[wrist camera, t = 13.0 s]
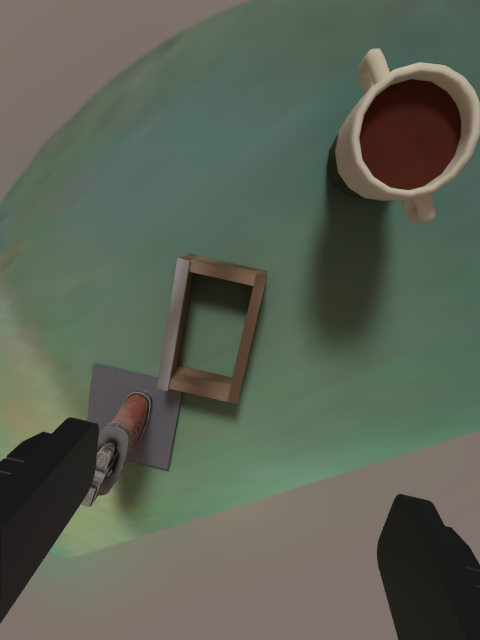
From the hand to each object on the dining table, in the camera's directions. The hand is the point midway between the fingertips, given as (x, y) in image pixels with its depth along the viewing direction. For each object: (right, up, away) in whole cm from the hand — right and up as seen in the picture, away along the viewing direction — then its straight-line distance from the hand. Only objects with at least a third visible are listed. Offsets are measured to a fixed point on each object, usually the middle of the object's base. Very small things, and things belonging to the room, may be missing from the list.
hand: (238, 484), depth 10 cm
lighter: (-12, -7, +32) cm, 35 cm away
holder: (-3, +4, +29) cm, 29 cm away
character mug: (+11, +19, +24) cm, 32 cm away
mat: (-12, -7, +33) cm, 36 cm away
